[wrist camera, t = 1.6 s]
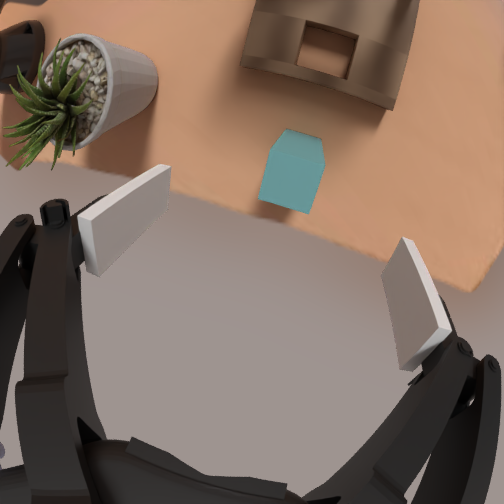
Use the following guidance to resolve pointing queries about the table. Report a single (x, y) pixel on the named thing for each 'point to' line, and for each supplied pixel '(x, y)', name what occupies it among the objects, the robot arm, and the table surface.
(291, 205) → the peg
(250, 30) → the socket plate
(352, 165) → the table surface
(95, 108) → the potted plant
